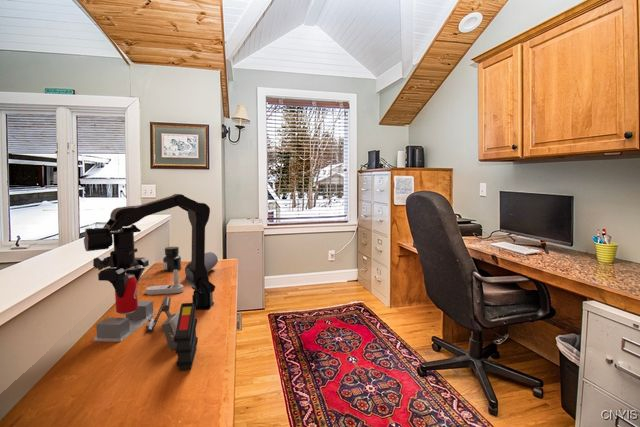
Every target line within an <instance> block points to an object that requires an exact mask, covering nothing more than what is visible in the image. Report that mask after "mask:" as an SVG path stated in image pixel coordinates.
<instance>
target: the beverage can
mask: <svg viewBox="0 0 640 427" xmlns="http://www.w3.org/2000/svg"><path fill="white" fill-rule="evenodd" d="M124 277H128V280H127V284H126V288H125V292H124V295H123V297H122V298H119V297H118V295H117V293H116V291H115V290H114V294H115V295H114V296H115V298H114V299H115V312H116V314H119V315H126V314H130V313H133V312H135V311H136V310H137V309H138V301H139V298H138V283H137V279H136V277H135V275H134V274H126V273H125V276H124Z"/></svg>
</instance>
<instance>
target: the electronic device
mask: <svg viewBox="0 0 640 427" xmlns="http://www.w3.org/2000/svg"><path fill="white" fill-rule="evenodd" d="M172 272H173V275H172V276H173V277H172V280H173V284H166V285H165V284H163V285H153V286H152V285H151V286H148V287H146V288H145V294H146V295H149V296H152V295H154V296H155V295H168V294H169V295H170V294H178V293H179V294H180V293H182V292H184V291H185V290H184V285H183V284H181V283H179V282H180V281H179V270H173V271H172Z"/></svg>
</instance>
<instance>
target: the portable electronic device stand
mask: <svg viewBox="0 0 640 427" xmlns="http://www.w3.org/2000/svg"><path fill="white" fill-rule="evenodd" d="M171 300H172V298H171V297H170V296H165V297H164V299H163V300H162V302H161V305H160V307H159V310H158V312H157V314H156V316H155V318H153V317H151V316H150V318H149V320H148V322H147V325H146V332H147V333H149V334H151V333H152V332H153V331H154V329H155V327H156V326H157V322H158V320H159V318H160V316H161V313H162V312H164V313H165V314H166V316H167V319H168V318H169V317H170V316H171V315H172V313H171V312H170V306H171Z"/></svg>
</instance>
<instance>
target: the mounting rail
mask: <svg viewBox="0 0 640 427" xmlns="http://www.w3.org/2000/svg"><path fill="white" fill-rule="evenodd" d="M155 315H156V311H154V310H153V313H151V314H150V315H149V316H147V317H126V315H125V316H124V317H123V318H129V325H130V330H129V331H128V332H127V333H126V334H124V335H123V336H122V337H120V338H115V337H97V335H96V336H95V337H94V338H93V341H94V342H114V343H115V342H117V343H118V342H120V343H121V342H123V341H124V340H125V339H127V338H128V337H129V336H130V335H131V334H133V333H134V332H135V331H136V330H137V329H139V328H141V326H142V325H144V324H145V323H146V322H148V321H149V318H150V316H151V318H153V317H154V316H155Z"/></svg>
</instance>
